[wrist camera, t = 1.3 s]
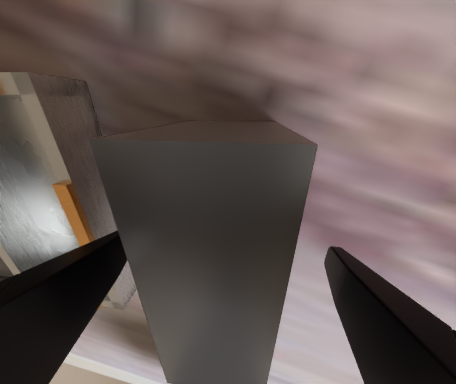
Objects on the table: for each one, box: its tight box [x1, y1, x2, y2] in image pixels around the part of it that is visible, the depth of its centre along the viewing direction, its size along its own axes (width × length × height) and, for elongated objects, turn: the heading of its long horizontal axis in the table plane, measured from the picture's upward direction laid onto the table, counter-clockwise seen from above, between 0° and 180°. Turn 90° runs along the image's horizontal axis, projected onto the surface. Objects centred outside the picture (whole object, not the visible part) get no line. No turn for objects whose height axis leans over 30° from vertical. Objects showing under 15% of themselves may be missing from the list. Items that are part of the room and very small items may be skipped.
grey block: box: [88, 121, 318, 384], centre depth 8 cm, size 10×4×6 cm, turn 0°
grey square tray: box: [0, 72, 137, 310], centre depth 11 cm, size 13×14×3 cm
